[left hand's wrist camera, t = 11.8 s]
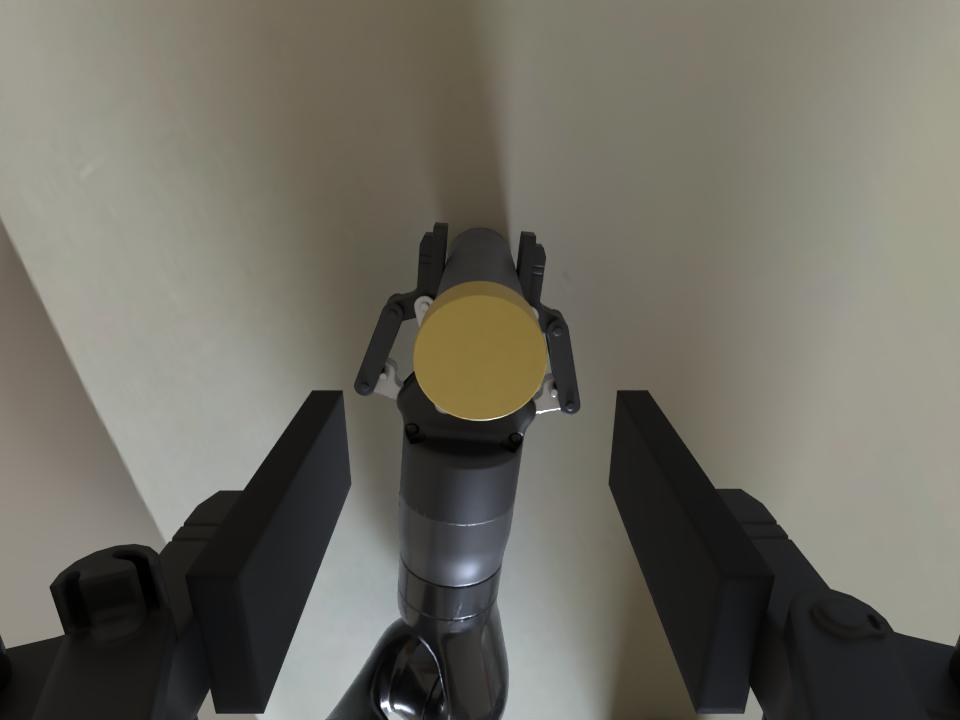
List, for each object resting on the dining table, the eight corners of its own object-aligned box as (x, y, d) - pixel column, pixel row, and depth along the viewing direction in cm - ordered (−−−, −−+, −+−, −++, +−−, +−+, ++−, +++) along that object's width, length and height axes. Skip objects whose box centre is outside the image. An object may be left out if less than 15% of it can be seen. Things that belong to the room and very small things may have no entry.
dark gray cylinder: (454, 294, 39) (433, 416, 21) (443, 233, 37) (411, 308, 20) (515, 285, 38) (544, 400, 21) (506, 222, 37) (530, 290, 19)
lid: (431, 404, 23) (426, 429, 21) (408, 291, 21) (400, 306, 19) (547, 387, 23) (554, 411, 21) (532, 271, 21) (538, 284, 19)
